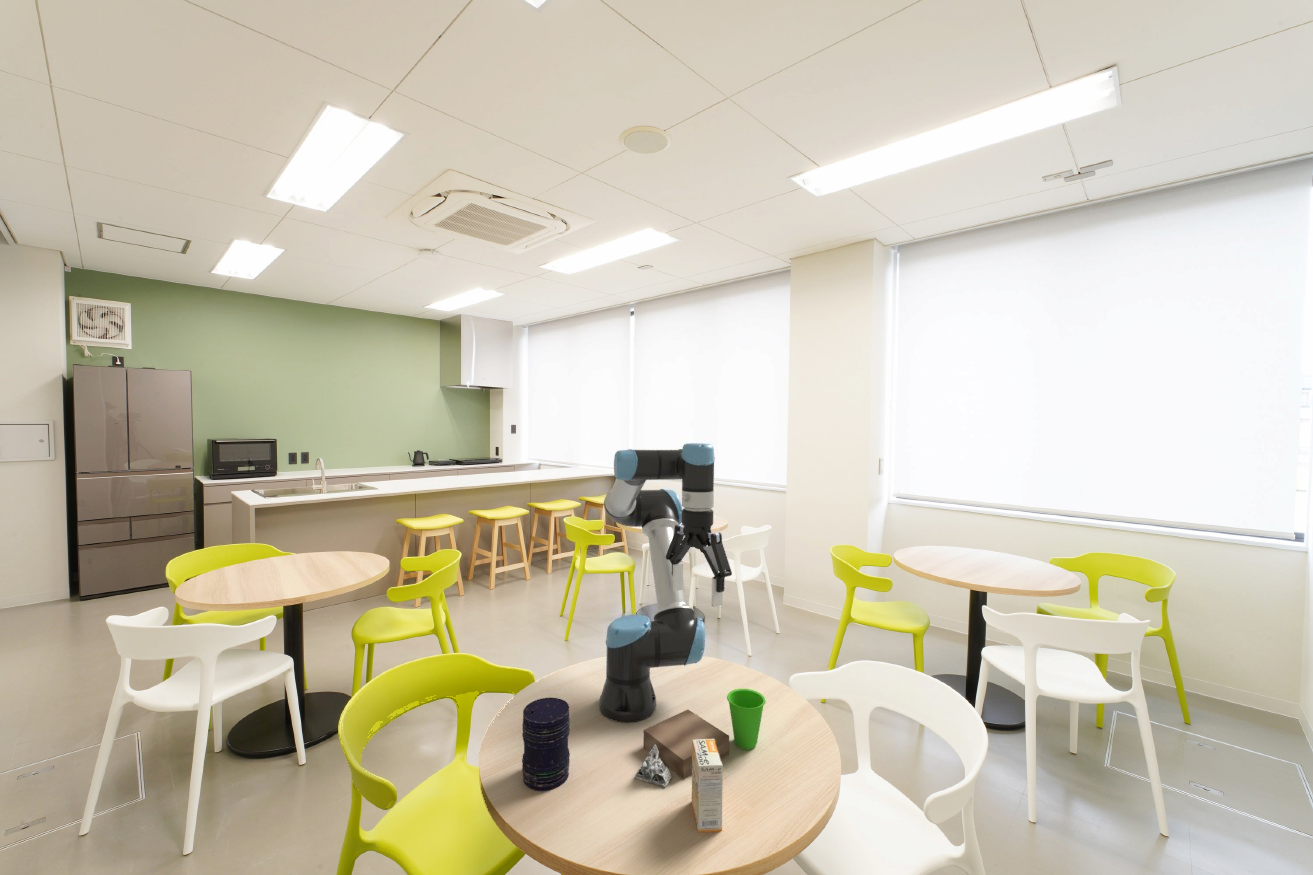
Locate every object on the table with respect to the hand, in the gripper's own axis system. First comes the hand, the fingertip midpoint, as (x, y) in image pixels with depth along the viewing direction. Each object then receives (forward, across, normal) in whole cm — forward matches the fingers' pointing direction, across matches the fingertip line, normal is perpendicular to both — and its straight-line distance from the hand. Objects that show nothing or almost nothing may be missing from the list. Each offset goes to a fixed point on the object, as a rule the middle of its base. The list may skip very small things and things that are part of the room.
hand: (696, 597), depth 123 cm
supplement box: (+35, +19, -15) cm, 42 cm away
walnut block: (+35, +2, -4) cm, 35 cm away
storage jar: (+35, -10, -34) cm, 50 cm away
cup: (+35, +8, +9) cm, 37 cm away
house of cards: (+35, +4, -14) cm, 38 cm away
